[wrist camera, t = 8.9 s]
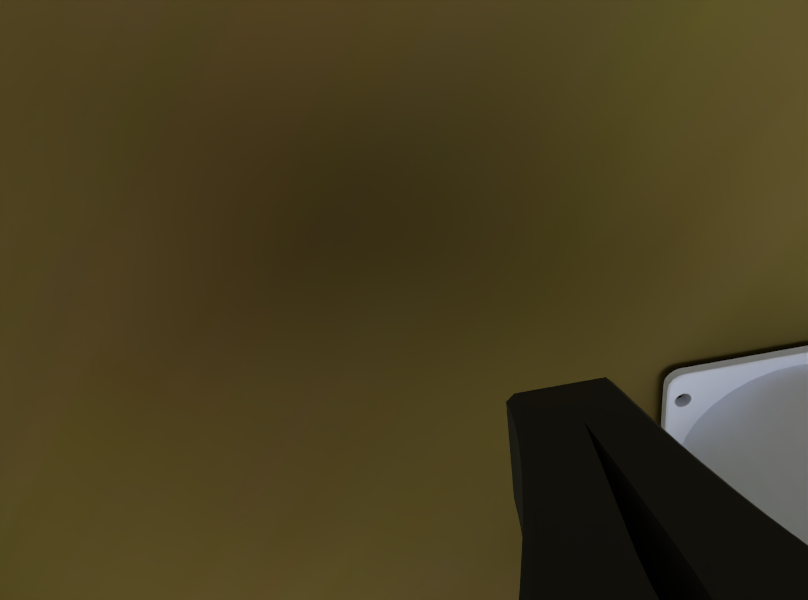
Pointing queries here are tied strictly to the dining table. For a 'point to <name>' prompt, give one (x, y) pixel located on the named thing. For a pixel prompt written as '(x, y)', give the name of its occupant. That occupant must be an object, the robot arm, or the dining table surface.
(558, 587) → the robot arm
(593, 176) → the dining table surface
